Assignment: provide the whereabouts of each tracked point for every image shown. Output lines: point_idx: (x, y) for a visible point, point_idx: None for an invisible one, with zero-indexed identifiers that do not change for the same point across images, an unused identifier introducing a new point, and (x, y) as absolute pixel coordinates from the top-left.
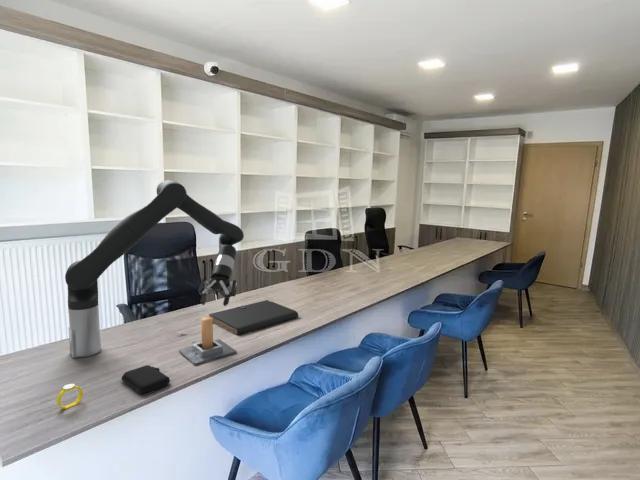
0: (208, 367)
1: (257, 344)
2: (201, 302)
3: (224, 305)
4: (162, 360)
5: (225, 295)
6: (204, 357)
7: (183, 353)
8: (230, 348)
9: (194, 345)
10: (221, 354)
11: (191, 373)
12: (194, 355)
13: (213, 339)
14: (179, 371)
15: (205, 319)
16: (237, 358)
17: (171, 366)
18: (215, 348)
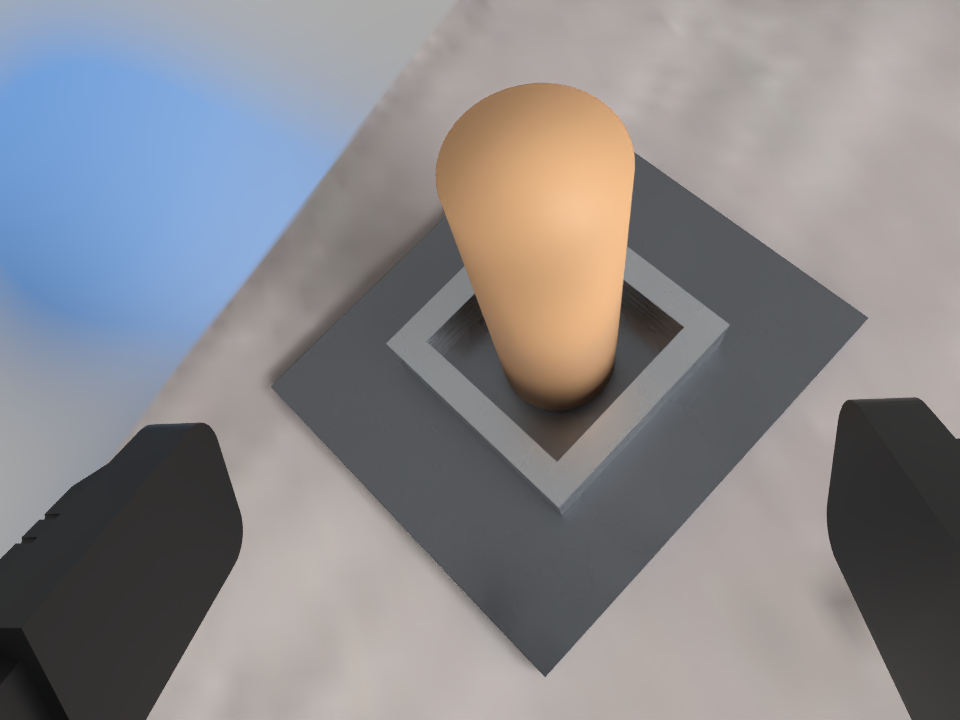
0: (442, 113)
1: None
2: (897, 399)
3: (221, 496)
4: (900, 140)
5: (21, 612)
6: None
7: (765, 247)
8: (343, 433)
9: (694, 303)
10: (392, 292)
11: (532, 14)
12: (634, 228)
13: (550, 499)
14: (637, 18)
15: (544, 134)
16: (253, 294)
17: (747, 68)
18: (446, 288)
